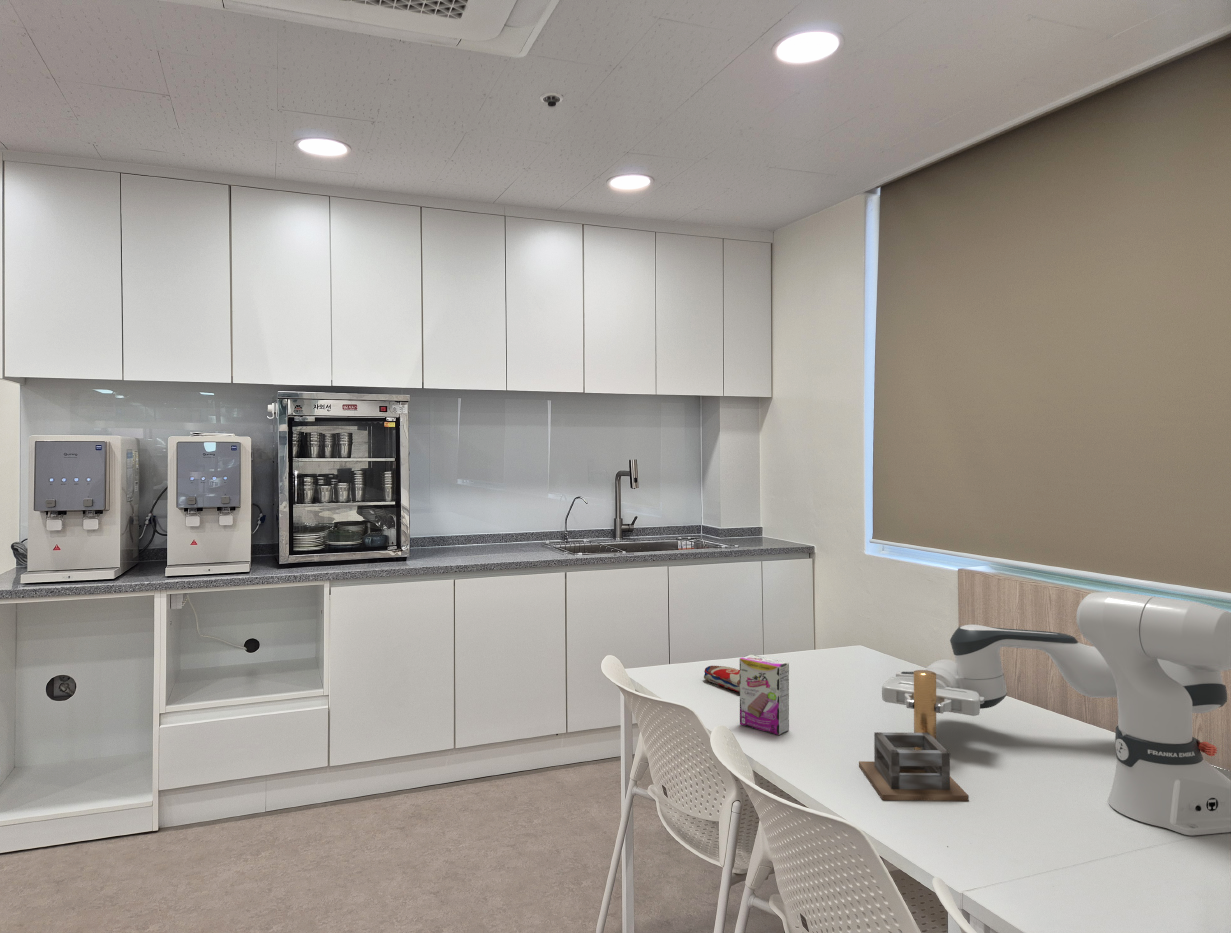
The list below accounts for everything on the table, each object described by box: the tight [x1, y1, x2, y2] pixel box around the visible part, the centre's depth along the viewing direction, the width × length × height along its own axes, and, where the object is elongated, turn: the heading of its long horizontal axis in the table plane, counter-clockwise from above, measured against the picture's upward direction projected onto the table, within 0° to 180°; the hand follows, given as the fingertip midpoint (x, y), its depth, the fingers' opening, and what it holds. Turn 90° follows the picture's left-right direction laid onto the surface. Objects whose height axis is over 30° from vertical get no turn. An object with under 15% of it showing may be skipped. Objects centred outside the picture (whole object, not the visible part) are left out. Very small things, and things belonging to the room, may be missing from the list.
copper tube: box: [913, 669, 938, 750], centre depth 165 cm, size 4×4×18 cm
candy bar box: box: [739, 654, 790, 736], centre depth 184 cm, size 11×5×16 cm, turn 47°
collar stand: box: [858, 731, 970, 802], centre depth 153 cm, size 16×16×8 cm
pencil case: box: [703, 665, 740, 693], centre depth 218 cm, size 11×20×5 cm, turn 18°
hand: (924, 707), depth 165 cm, fingers closed on copper tube, 4 cm apart
